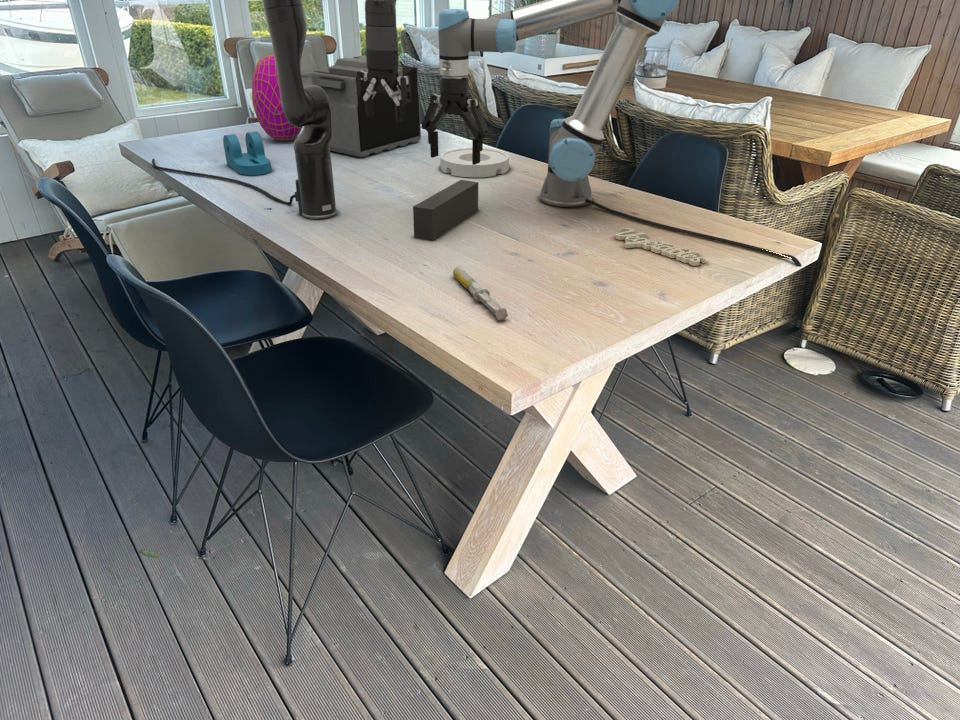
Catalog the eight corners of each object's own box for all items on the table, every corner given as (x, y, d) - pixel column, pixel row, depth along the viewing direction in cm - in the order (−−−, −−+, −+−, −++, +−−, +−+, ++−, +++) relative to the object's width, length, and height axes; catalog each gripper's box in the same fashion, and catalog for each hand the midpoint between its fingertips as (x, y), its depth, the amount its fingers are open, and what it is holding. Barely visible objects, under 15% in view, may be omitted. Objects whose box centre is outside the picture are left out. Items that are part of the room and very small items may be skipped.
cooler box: (383, 133, 276) (378, 52, 261) (425, 141, 265) (422, 56, 250) (314, 150, 251) (304, 61, 235) (358, 160, 240) (350, 67, 224)
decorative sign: (601, 235, 175) (625, 226, 181) (600, 238, 175) (625, 230, 181) (689, 266, 158) (713, 255, 164) (689, 269, 158) (713, 259, 164)
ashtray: (443, 158, 243) (443, 147, 241) (508, 159, 242) (508, 148, 240) (437, 176, 223) (437, 164, 221) (508, 178, 222) (509, 165, 220)
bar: (460, 208, 196) (460, 179, 192) (478, 210, 194) (478, 182, 190) (414, 237, 175) (412, 206, 171) (433, 241, 173) (432, 209, 169)
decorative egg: (293, 132, 276) (283, 50, 261) (319, 140, 264) (310, 56, 249) (249, 139, 265) (236, 54, 250) (273, 148, 253) (261, 60, 238)
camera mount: (227, 164, 233) (221, 132, 227) (257, 160, 238) (252, 129, 233) (244, 176, 220) (239, 143, 215) (276, 172, 225) (271, 139, 220)
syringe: (449, 274, 155) (449, 263, 153) (465, 272, 156) (464, 260, 154) (490, 323, 135) (491, 310, 133) (508, 319, 136) (508, 307, 134)
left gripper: (347, 45, 159) (351, 118, 168) (398, 51, 154) (400, 125, 162) (366, 42, 165) (370, 112, 173) (416, 47, 159) (417, 120, 168)
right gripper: (406, 74, 179) (410, 156, 190) (488, 82, 168) (487, 169, 179) (423, 70, 185) (425, 150, 195) (503, 78, 173) (501, 163, 184)
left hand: (384, 119), depth 168 cm, fingers open, 8 cm apart
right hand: (455, 160), depth 187 cm, fingers open, 13 cm apart
